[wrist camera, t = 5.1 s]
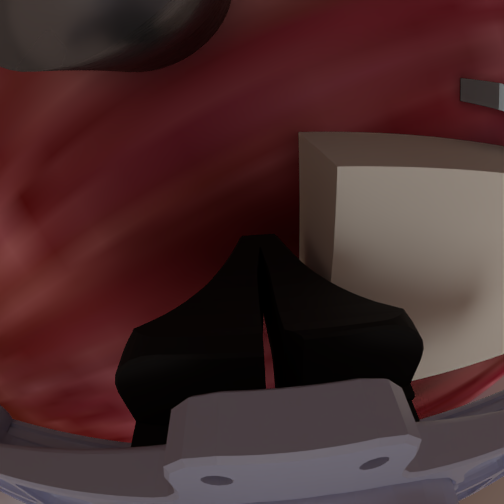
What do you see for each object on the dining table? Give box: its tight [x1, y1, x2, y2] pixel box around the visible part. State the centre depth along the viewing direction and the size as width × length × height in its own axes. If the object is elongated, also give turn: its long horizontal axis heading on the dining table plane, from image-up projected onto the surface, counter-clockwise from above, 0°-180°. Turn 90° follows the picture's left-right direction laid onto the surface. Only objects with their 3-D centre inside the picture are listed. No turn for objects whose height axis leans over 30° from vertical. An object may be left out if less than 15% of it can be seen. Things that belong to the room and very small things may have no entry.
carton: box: [298, 132, 504, 381], centre depth 11 cm, size 8×10×5 cm
